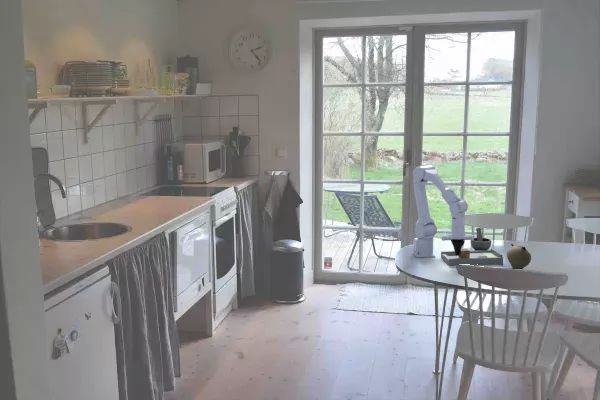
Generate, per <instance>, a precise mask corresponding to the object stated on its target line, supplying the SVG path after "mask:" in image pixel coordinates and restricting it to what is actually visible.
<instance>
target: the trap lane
mask: <svg viewBox="0 0 600 400" xmlns="http://www.w3.org/2000/svg"><path fill="white" fill-rule="evenodd" d="M440 259H441V260H442V261H443V262H444V263H446V264H447V265H448V266H449V267H458V266H457V265H459V264H470V265H469V266H500V265H501V266H502V265H504V257H503V254H502V253H501V252H499V251H498V250H496V249H495V248H492V247H490V250H489V249H488V250H481V251H474V250H470V258H459V257H458V256H456V255H455V251H454V250H451V251H450V250H447V251H442V250H441V251H440ZM477 264H478V265H477Z"/></svg>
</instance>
